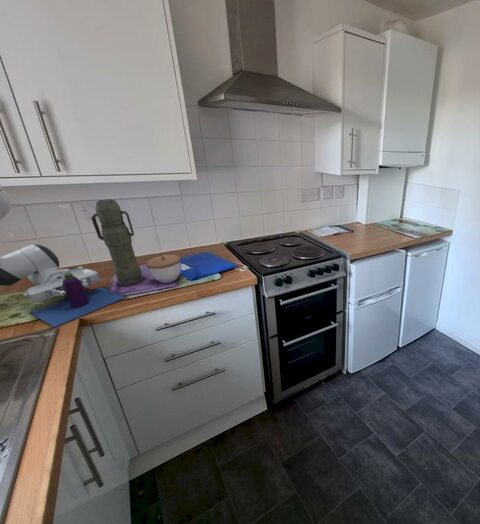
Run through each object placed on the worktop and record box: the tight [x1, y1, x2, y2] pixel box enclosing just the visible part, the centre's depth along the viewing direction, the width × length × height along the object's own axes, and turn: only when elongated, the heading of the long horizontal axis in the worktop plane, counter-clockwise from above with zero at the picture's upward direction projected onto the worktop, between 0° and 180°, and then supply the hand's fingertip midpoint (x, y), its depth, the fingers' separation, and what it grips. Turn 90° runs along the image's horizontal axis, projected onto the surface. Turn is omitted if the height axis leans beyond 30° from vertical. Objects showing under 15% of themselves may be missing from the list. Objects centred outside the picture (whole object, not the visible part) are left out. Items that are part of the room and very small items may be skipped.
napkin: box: [30, 286, 126, 328], centre depth 111 cm, size 22×18×1 cm
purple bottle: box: [62, 273, 89, 308], centre depth 109 cm, size 5×5×12 cm
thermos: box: [90, 198, 144, 287], centre depth 122 cm, size 9×12×35 cm
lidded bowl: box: [145, 254, 182, 284], centre depth 129 cm, size 13×13×11 cm
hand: (75, 289), depth 108 cm, fingers closed on purple bottle, 5 cm apart
